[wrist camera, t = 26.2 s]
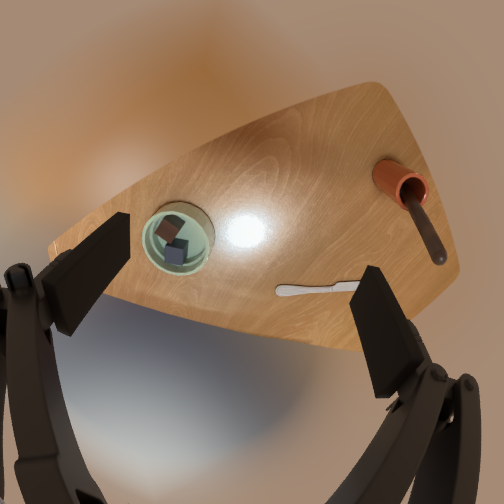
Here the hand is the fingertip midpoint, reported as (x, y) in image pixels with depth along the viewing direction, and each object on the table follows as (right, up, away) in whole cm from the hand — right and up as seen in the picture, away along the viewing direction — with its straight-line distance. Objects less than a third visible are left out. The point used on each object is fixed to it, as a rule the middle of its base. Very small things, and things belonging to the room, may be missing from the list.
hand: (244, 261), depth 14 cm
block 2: (-13, +1, +36) cm, 38 cm away
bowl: (-12, +4, +35) cm, 37 cm away
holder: (+23, +14, +27) cm, 38 cm away
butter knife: (+17, -7, +39) cm, 43 cm away
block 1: (-14, +6, +34) cm, 37 cm away
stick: (+24, +14, +26) cm, 38 cm away
